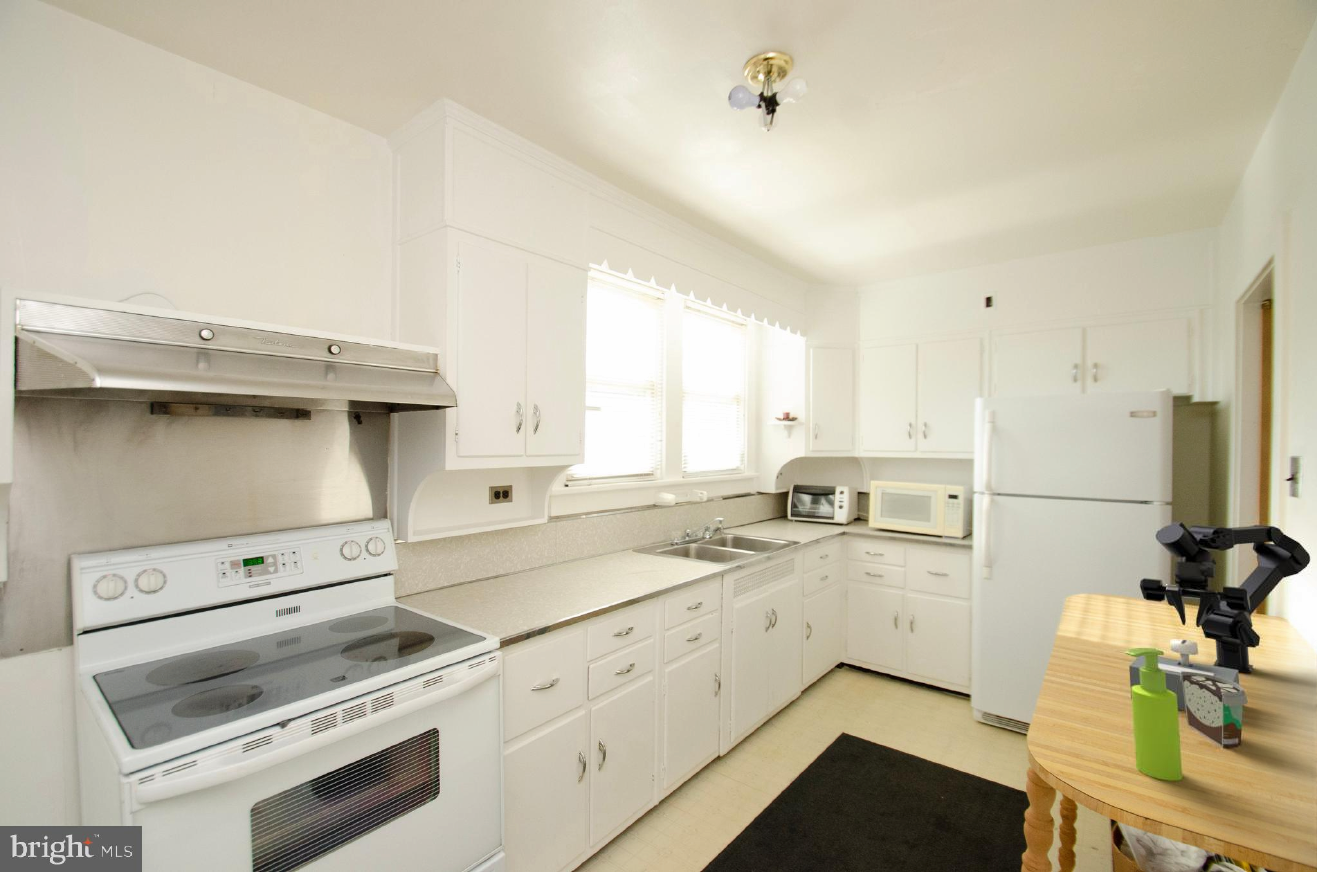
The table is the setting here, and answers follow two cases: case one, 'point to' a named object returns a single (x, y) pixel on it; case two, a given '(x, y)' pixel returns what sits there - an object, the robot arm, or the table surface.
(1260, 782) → the table surface
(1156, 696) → the soap dispenser
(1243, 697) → the food container
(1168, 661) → the console
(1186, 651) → the knob
